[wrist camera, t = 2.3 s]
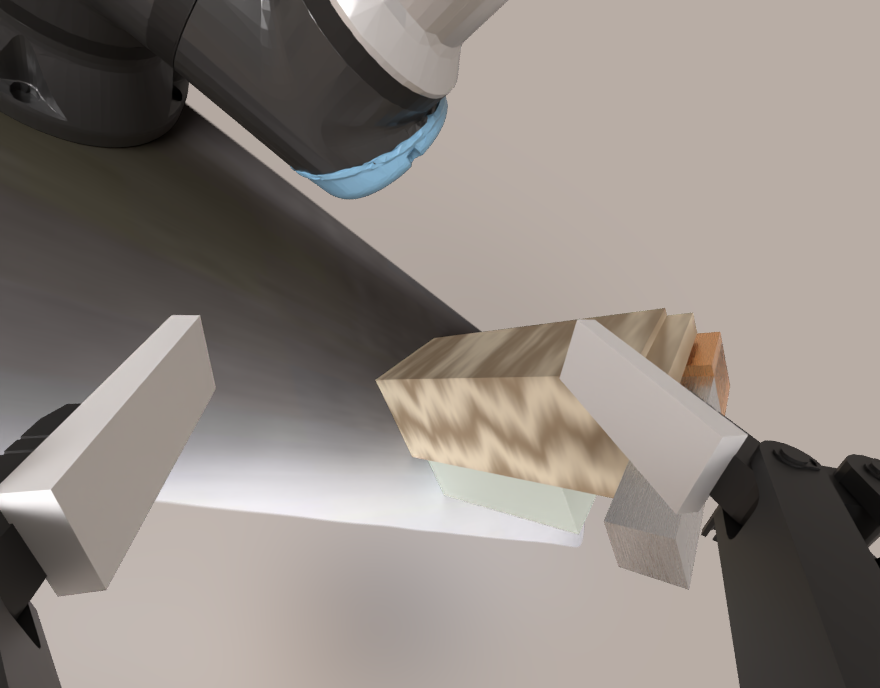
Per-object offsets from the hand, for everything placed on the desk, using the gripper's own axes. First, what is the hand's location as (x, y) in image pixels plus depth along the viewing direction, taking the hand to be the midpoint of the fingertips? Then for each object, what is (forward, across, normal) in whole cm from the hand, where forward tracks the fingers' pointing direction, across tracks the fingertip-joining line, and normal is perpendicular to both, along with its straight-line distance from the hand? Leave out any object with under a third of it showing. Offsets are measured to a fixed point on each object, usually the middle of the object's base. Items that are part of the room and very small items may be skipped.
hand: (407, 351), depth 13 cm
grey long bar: (+6, +21, -11) cm, 24 cm away
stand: (+30, +8, -24) cm, 40 cm away
